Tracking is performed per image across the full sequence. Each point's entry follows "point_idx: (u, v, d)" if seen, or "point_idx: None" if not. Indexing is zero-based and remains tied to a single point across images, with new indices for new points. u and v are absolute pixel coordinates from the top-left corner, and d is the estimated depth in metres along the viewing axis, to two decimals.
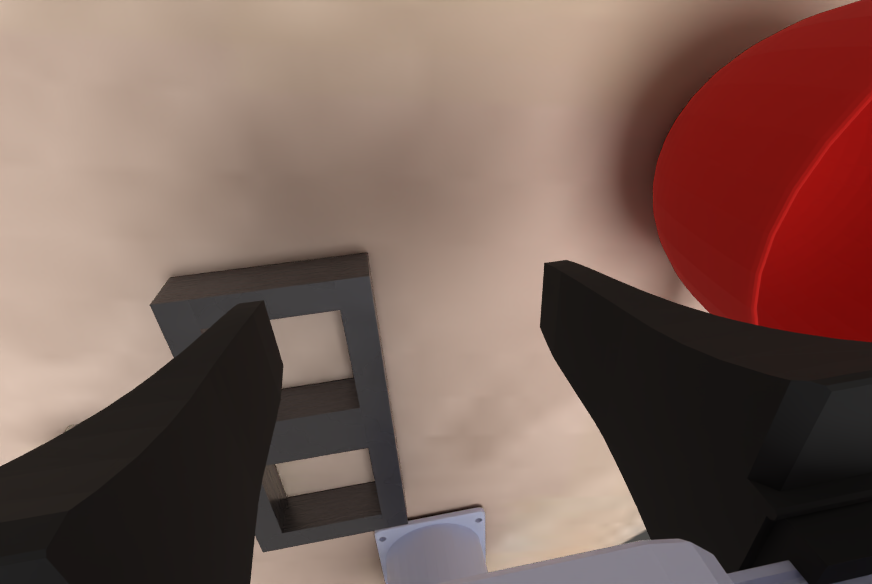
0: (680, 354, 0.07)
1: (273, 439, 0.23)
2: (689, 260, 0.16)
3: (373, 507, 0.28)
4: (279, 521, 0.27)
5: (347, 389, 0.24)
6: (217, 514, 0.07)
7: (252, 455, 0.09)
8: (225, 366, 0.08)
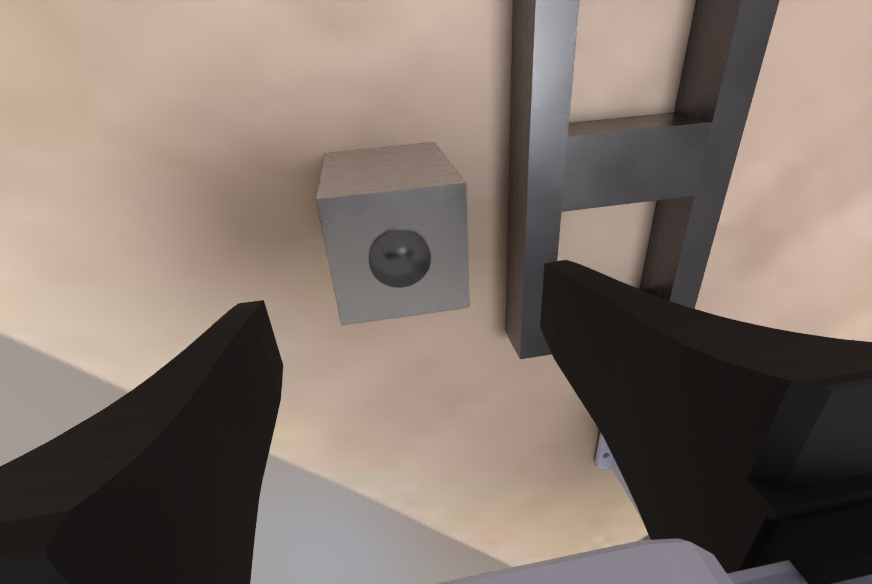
0: (680, 354, 0.07)
1: (597, 164, 0.18)
2: None
3: None
4: None
5: (673, 117, 0.19)
6: (217, 514, 0.07)
7: (252, 455, 0.09)
8: (225, 366, 0.08)
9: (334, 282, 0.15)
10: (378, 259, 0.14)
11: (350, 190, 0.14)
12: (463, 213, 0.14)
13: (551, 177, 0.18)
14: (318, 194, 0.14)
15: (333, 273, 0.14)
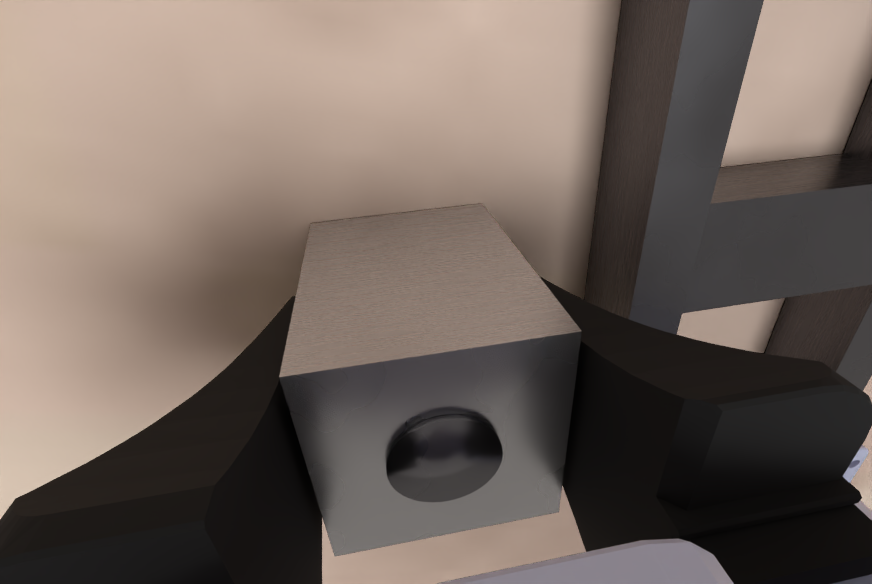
0: (600, 366, 0.07)
1: (748, 244, 0.11)
2: None
3: None
4: None
5: (852, 163, 0.12)
6: (299, 499, 0.07)
7: None
8: None
9: (320, 500, 0.08)
10: (404, 466, 0.07)
11: (349, 346, 0.07)
12: (569, 381, 0.07)
13: (675, 265, 0.11)
14: (287, 355, 0.07)
15: (318, 489, 0.08)
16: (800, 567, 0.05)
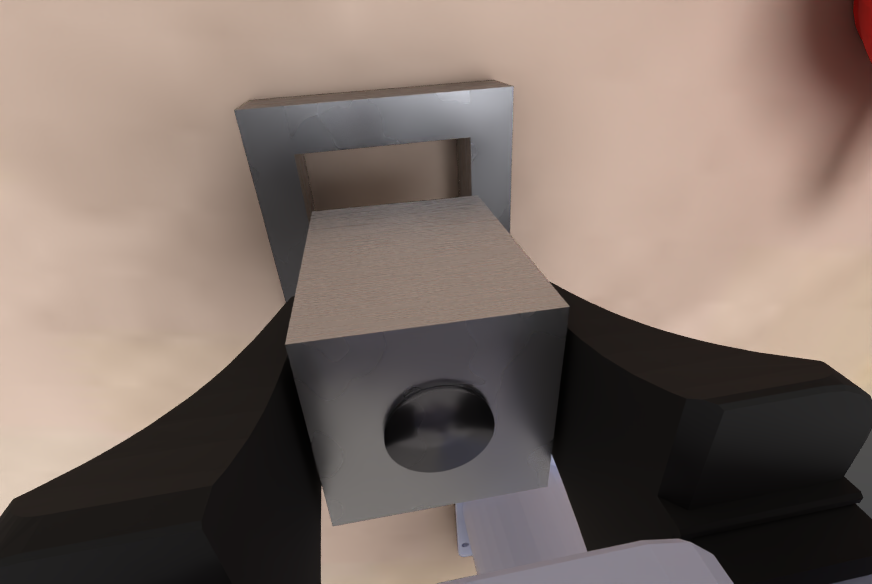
0: (602, 366, 0.07)
1: None
2: None
3: None
4: None
5: None
6: (298, 499, 0.07)
7: None
8: None
9: (320, 469, 0.08)
10: (401, 436, 0.08)
11: (351, 318, 0.07)
12: (558, 355, 0.08)
13: None
14: (292, 325, 0.07)
15: (319, 457, 0.08)
16: (802, 567, 0.05)
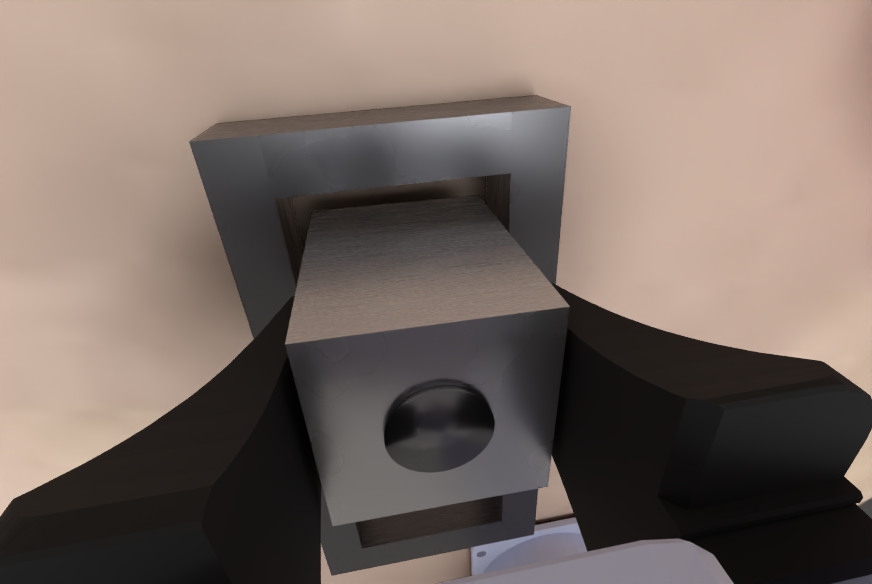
0: (602, 366, 0.07)
1: None
2: None
3: (486, 510, 0.20)
4: (358, 532, 0.18)
5: None
6: (298, 499, 0.07)
7: None
8: None
9: (320, 469, 0.08)
10: (401, 436, 0.08)
11: (351, 318, 0.07)
12: (558, 355, 0.08)
13: None
14: (292, 325, 0.07)
15: (319, 457, 0.08)
16: (801, 567, 0.05)
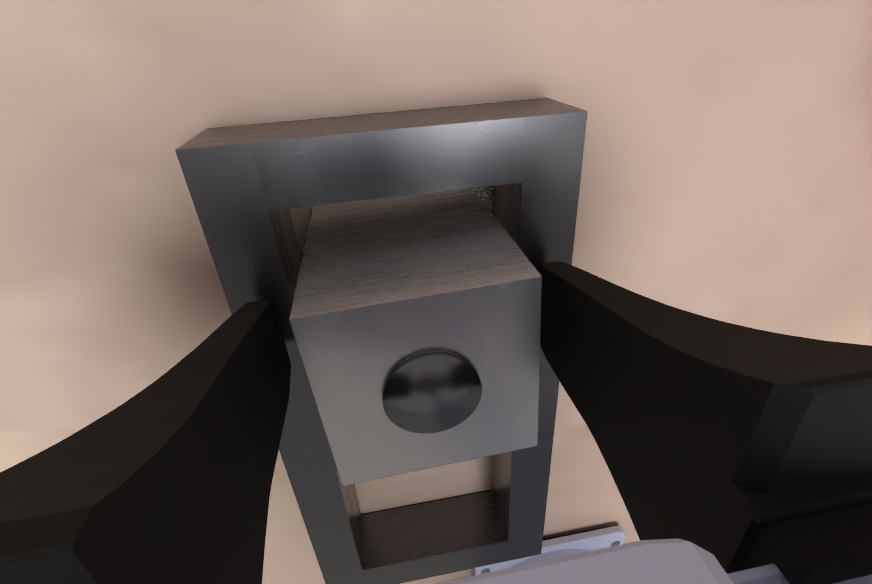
0: (668, 356, 0.07)
1: None
2: None
3: (492, 529, 0.19)
4: (358, 553, 0.18)
5: None
6: (231, 511, 0.07)
7: (263, 453, 0.09)
8: (237, 364, 0.08)
9: (328, 432, 0.09)
10: (398, 400, 0.09)
11: (347, 295, 0.08)
12: (535, 322, 0.09)
13: (310, 442, 0.14)
14: (295, 304, 0.08)
15: (326, 421, 0.09)
16: None
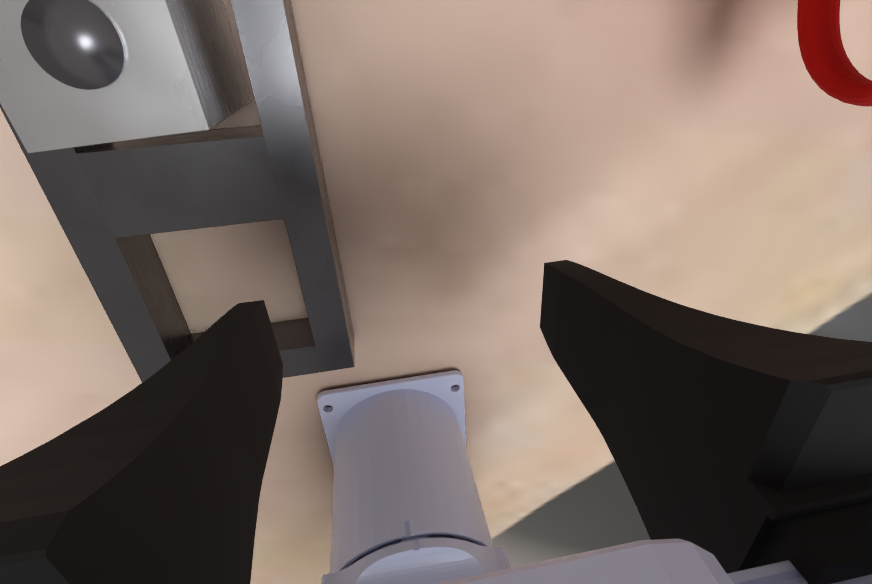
0: (680, 354, 0.07)
1: (134, 184, 0.15)
2: None
3: (304, 339, 0.20)
4: (168, 348, 0.19)
5: (252, 129, 0.17)
6: (217, 514, 0.07)
7: (252, 455, 0.09)
8: (225, 366, 0.08)
9: None
10: (38, 40, 0.10)
11: None
12: None
13: (80, 199, 0.15)
14: None
15: None
16: None
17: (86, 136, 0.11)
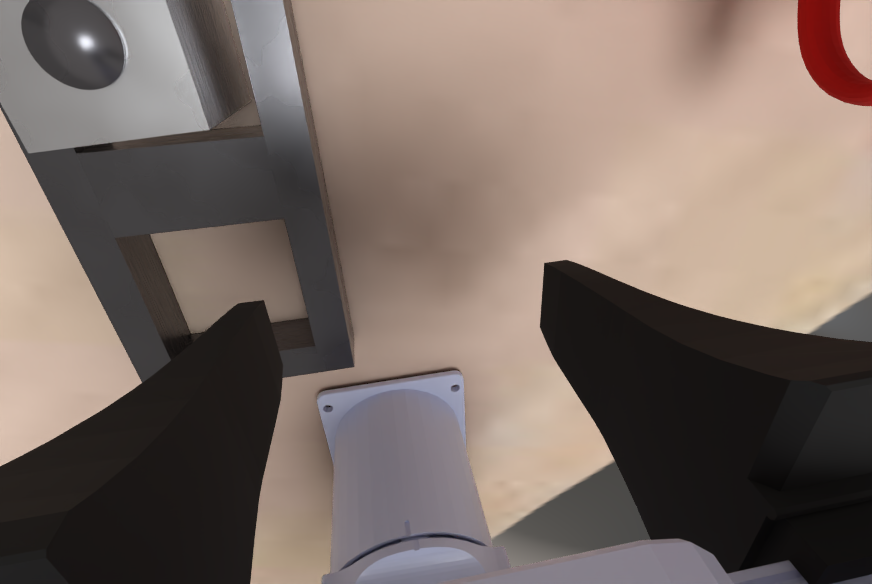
0: (680, 354, 0.07)
1: (134, 185, 0.15)
2: None
3: (304, 339, 0.20)
4: (168, 348, 0.19)
5: (252, 129, 0.17)
6: (217, 514, 0.07)
7: (252, 455, 0.09)
8: (225, 366, 0.08)
9: None
10: (38, 40, 0.10)
11: None
12: None
13: (80, 199, 0.15)
14: None
15: None
16: None
17: (86, 136, 0.11)
